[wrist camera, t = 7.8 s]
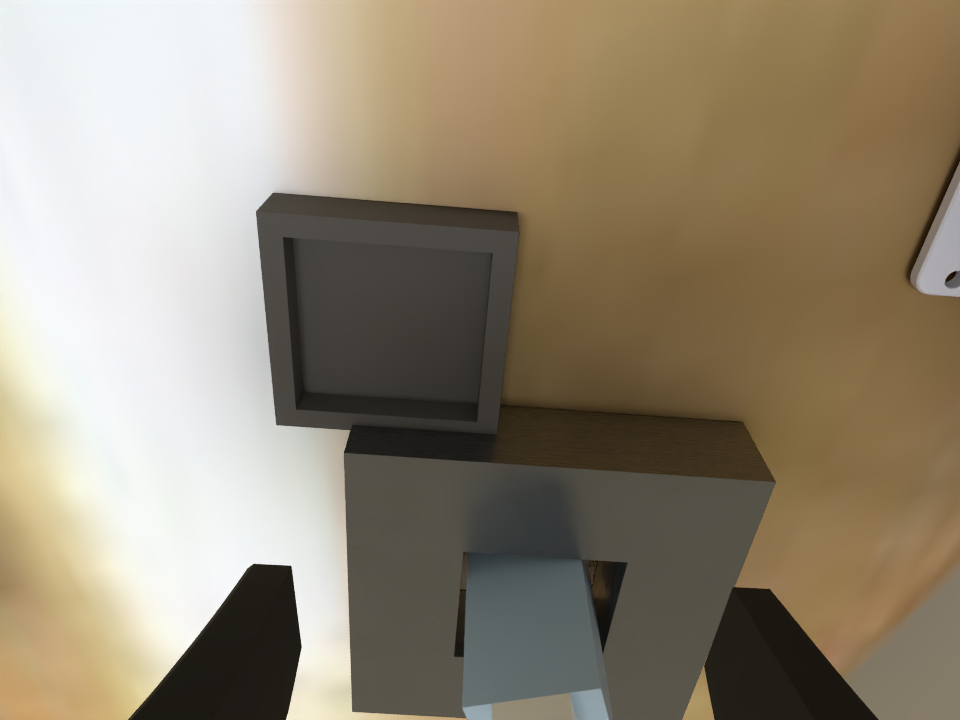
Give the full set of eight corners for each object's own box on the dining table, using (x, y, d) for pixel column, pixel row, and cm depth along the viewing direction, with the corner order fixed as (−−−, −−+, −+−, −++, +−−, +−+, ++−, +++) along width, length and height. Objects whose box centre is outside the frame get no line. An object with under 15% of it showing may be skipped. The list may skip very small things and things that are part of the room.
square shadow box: (517, 212, 18) (519, 232, 17) (495, 410, 21) (496, 439, 20) (273, 192, 18) (255, 211, 16) (289, 396, 21) (276, 424, 20)
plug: (571, 496, 23) (608, 736, 16) (588, 569, 25) (628, 812, 18) (468, 515, 23) (460, 755, 16) (492, 584, 25) (494, 827, 18)
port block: (743, 422, 21) (776, 481, 19) (661, 661, 27) (677, 730, 25) (360, 395, 21) (344, 452, 18) (364, 644, 27) (352, 711, 25)
